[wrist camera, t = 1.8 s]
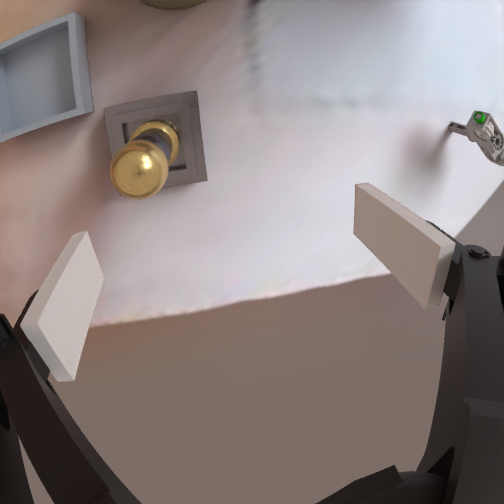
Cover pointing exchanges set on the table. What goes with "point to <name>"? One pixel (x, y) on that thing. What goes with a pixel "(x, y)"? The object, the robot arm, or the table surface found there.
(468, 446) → the robot arm
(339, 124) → the table surface
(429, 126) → the table surface
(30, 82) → the tray
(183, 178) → the recessed square block
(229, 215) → the table surface
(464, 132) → the mechanical component
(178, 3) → the can
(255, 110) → the table surface
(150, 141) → the strut
